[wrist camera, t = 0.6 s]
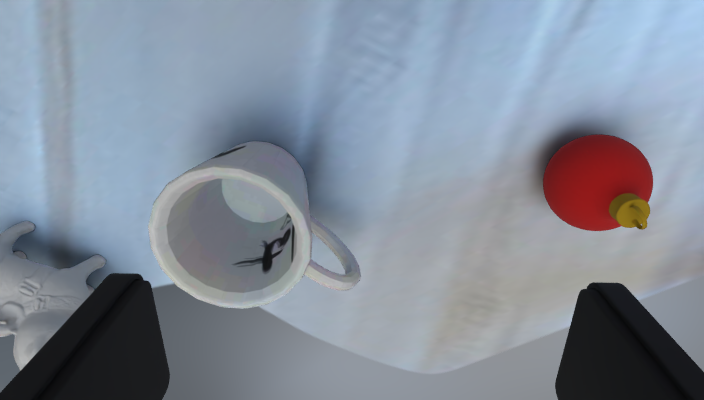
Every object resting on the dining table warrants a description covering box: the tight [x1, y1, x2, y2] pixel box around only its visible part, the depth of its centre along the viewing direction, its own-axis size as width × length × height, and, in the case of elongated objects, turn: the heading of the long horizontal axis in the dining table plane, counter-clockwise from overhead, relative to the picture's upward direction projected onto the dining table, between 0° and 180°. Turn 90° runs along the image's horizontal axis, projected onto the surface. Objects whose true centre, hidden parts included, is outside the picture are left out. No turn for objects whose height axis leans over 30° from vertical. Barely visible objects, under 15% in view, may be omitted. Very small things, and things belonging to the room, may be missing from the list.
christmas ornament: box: [543, 135, 653, 231], centre depth 32 cm, size 7×7×10 cm
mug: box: [148, 141, 361, 309], centre depth 33 cm, size 10×15×10 cm
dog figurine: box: [0, 221, 106, 371], centre depth 36 cm, size 5×13×11 cm, turn 60°
